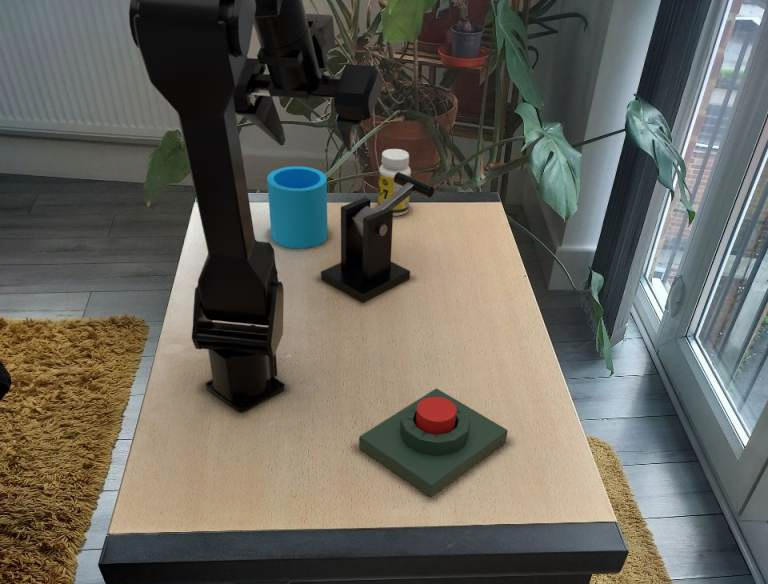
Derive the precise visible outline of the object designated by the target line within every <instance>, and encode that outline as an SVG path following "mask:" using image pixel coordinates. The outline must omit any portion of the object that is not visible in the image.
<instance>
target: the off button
mask: <svg viewBox="0 0 768 584" xmlns="http://www.w3.org/2000/svg"><path fill="white" fill-rule="evenodd" d="M456 413H457V409H456V406H455V405H454V404H453V403H452V402H451V401H450V400H448V399H445V398H441V397H429V398H426V399H423V400H422V401H420V402H419V404H418V405H417V413H416V424H417V426H418V428H419V429H421V430H422V431H424V432H425V433H430V434H436V435H438V434H444V433H448V432H450V431H451V430H452V429H453V428H454V426H455V421H456Z"/></svg>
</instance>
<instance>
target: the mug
mask: <svg viewBox="0 0 768 584" xmlns="http://www.w3.org/2000/svg"><path fill="white" fill-rule="evenodd" d="M327 179H328V177H327V175H326V174H325V172H322V171H321V170H319V169H316V168H313V167H309V166H308V167H307V166H298V165H297V166H296V165H294V166H285V167H281V168H278V169H277V168H276V169H275V170H273V171H272V172H270V173H269V174H268V175H267V180H266V181H267V182H266V183H267V194H268V196H267V197H268V206H269V207H268V211H269V221H270V224H269V225H270V235H271V239H272V240H273V241H274V242H275V243H276V244H277V245H279V246H283V247H284V248H285V247H286V248H291V249H307V248H308V249H309V248H313V247H316V246H320V245H321V244H322V243H325V242H326V240H327V239H328V237H329V236H328V231H329V230H328V189H327V188H328V187H327V186H328V185H327V183H328V182H327Z"/></svg>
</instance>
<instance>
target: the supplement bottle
mask: <svg viewBox="0 0 768 584" xmlns="http://www.w3.org/2000/svg"><path fill="white" fill-rule="evenodd" d="M409 164H410V153H409V152H407V151H406V150H404V149H400V148H387V149H384V150H383V151H382V153H381V165H380V166H379V169H378V189H377V190H378V193H377V194H378V195H377V206H378V205H380V204H381V203H382V202H384V201H385V200H386V199H387V198H389V197H390V196H391V195H392V194H394V193H395V192H396V191H398V190H399V189H400V188H401V187H403V186H401V185H399V184H396V183H395V182H394V176H395V174H396V173H397V172H400V173H403V174H405V175H407V176H410V177H412V170H411V168H410V166H409ZM409 208H410V196H408V197H407V198H406V199H405V200H403V201H402V202H401V203H400V204H398V205H397V206H396V207H395V208H393V209H392V210H393V217H398V216H402V215H405V214H407V212H408V211H409V210H410V209H409Z"/></svg>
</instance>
